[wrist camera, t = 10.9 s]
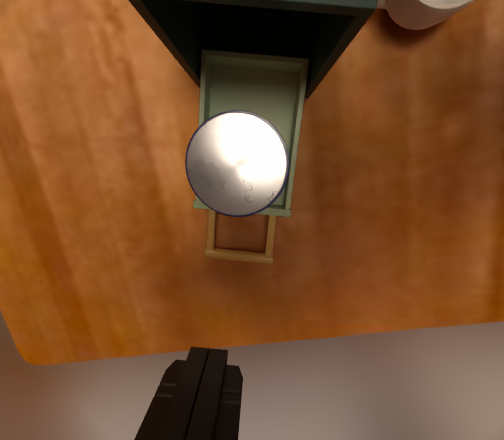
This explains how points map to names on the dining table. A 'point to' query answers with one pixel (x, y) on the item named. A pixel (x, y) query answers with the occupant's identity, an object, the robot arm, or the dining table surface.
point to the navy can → (237, 163)
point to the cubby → (257, 29)
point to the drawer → (259, 102)
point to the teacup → (421, 11)
